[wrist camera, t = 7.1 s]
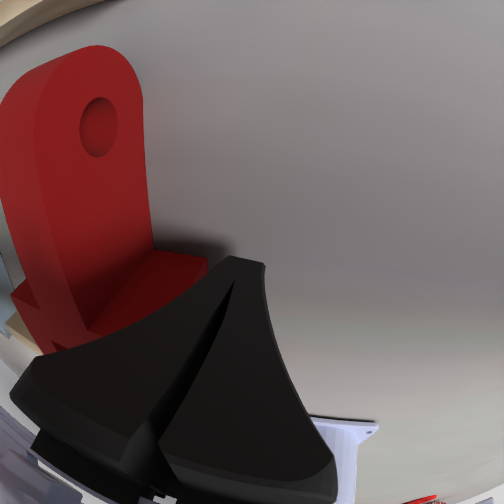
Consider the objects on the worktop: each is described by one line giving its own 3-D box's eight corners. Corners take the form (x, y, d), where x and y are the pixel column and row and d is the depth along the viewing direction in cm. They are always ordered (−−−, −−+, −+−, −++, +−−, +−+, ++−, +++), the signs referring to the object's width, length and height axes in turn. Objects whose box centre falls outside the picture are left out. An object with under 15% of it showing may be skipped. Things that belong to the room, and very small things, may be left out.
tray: (156, 379, 17) (139, 413, 15) (18, 311, 19) (0, 332, 16) (149, -39, 5) (100, -64, 3) (-28, 48, 7) (-61, 56, 4)
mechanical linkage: (215, 371, 15) (188, 445, 11) (112, 341, 16) (76, 399, 12) (209, 43, 7) (112, 8, 3) (57, 74, 8) (-38, 94, 4)
